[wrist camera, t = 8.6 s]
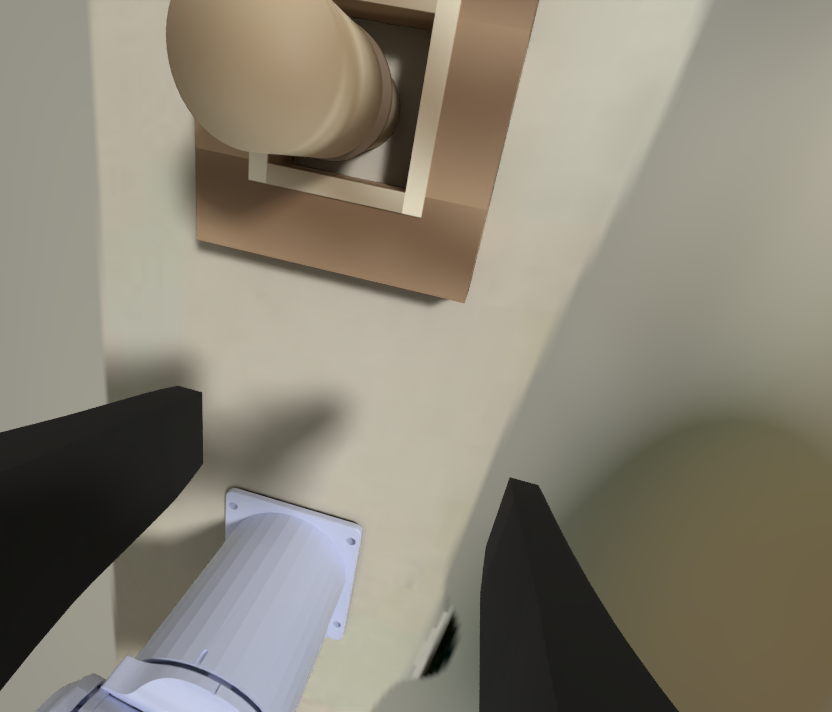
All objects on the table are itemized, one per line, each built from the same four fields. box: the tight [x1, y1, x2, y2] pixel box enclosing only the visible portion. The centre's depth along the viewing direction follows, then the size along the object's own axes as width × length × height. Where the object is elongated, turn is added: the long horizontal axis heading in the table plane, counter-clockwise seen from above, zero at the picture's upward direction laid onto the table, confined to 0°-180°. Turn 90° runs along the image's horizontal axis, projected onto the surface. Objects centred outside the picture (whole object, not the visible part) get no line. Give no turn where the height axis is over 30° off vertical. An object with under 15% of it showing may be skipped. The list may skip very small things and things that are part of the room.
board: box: [195, 0, 539, 303], centre depth 16 cm, size 12×11×2 cm
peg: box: [166, 0, 400, 161], centre depth 13 cm, size 4×4×8 cm
